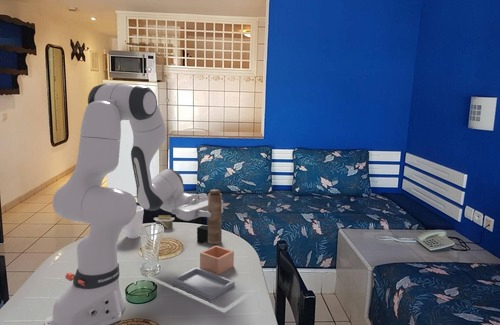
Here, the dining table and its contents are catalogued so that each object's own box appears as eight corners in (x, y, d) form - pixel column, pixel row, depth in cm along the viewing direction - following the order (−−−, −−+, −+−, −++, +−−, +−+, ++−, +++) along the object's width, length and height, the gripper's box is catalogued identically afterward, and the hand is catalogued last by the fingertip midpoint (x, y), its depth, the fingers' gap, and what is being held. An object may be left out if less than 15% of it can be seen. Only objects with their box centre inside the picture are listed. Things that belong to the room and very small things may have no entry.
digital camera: (223, 243, 174) (223, 228, 173) (216, 247, 169) (216, 232, 168) (204, 238, 179) (204, 223, 178) (197, 242, 174) (197, 227, 173)
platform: (181, 233, 186) (181, 219, 185) (142, 233, 185) (142, 219, 184) (183, 224, 198) (183, 211, 197) (147, 224, 197) (147, 211, 195)
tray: (211, 302, 126) (211, 295, 125) (172, 285, 136) (172, 278, 135) (234, 288, 135) (234, 281, 135) (196, 273, 145) (196, 266, 145)
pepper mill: (214, 244, 140) (215, 193, 137) (205, 241, 143) (205, 190, 140) (223, 241, 144) (224, 190, 141) (213, 237, 147) (214, 188, 144)
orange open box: (218, 277, 143) (218, 259, 141) (200, 270, 148) (200, 252, 146) (233, 268, 150) (233, 251, 148) (215, 262, 155) (215, 245, 154)
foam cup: (128, 231, 185) (127, 205, 183) (147, 232, 184) (146, 206, 182) (119, 238, 176) (118, 211, 174) (139, 240, 175) (138, 212, 173)
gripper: (168, 203, 140) (196, 210, 132) (206, 192, 157) (233, 198, 149) (168, 220, 141) (196, 228, 134) (206, 207, 158) (233, 214, 150)
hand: (216, 212), depth 141 cm, fingers closed on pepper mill, 5 cm apart
